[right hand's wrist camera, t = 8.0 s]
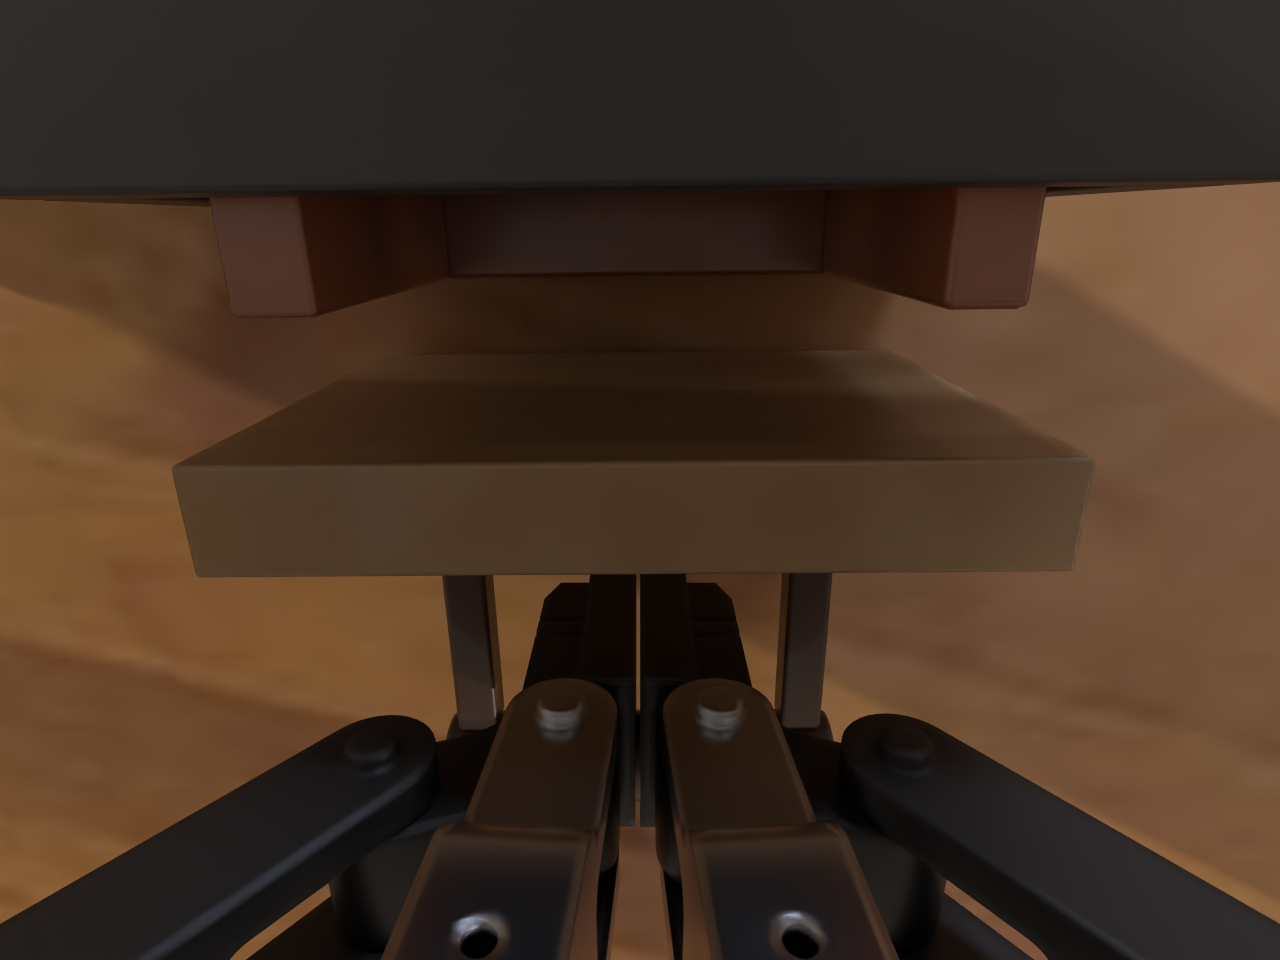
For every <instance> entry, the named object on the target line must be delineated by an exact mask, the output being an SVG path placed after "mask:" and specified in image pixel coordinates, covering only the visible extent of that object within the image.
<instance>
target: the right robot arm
mask: <svg viewBox="0 0 1280 960" xmlns="http://www.w3.org/2000/svg"><path fill="white" fill-rule="evenodd" d="M635 768H636V574H590V581H589V583H560V584H559V585H558V586H557V587H556V588H555V589H554V590H553V591H552V592H551V593H550V594H549V595H548V596H547V597H546V598H545V599H544V604H543V608H542V612H541V616H540V621H539V624H538V628H537V635H536V636H535V641H534V645H533V649H532V653H531V657H530V661H529V665H528V669H527V674H526V678H525V682H524V686H523V690H522V691H521V692H520V693H518V694H517V695H516V696H515V697H514V698H513V699H512V700H511V701H510V703H509V704H508V706H507V708H506V710H505V713H504V716H503V718H502V720H500V721H499V722H497V723H496V724H494V725H492V726H490V727H488V728H486V729H484V730H481V731H478V732H476V733H472V734H469V735H465V736H461V737H456V738H452V739H448V740H443V741H439V742H436V741H435V737H434V734H433V732H432V731H431V729H430V728H429V727H428V726H427V725H425V724H424V723H423V722H421V721H419V720H417V719H414V718H411V717H406V716H400V715H386V716H377V717H371V718H367V719H364V720H360V721H357V722H355V723H352V724H350V725H348V726H346V727H344V728H342V729H340V730H338V731H336V732H334V733H333V734H331V735H329V736H327V737H326V738H324V739H322V740H320V741H319V742H317V743H315V744H313V745H312V746H310V747H308V748H306V749H305V750H303V751H301V752H299V753H298V754H296V755H294V756H293V757H291V758H289V759H287V760H286V761H284V762H282V763H280V764H279V765H277V766H275V767H273V768H272V769H270V770H268V771H266V772H265V773H263V774H261V775H259V776H258V777H256V778H254V779H252V780H251V781H249V782H247V783H245V784H244V785H242V786H240V787H238V788H237V789H235V790H233V791H231V792H230V793H228V794H226V795H224V796H223V797H221V798H219V799H217V800H216V801H214V802H212V803H211V804H209V805H207V806H205V807H204V808H202V809H200V810H198V811H197V812H195V813H193V814H191V815H190V816H188V817H186V818H184V819H183V820H181V821H179V822H177V823H176V824H174V825H172V826H170V827H169V828H167V829H165V830H163V831H162V832H160V833H158V834H156V835H155V836H153V837H151V838H149V839H148V840H146V841H144V842H142V843H141V844H139V845H137V846H135V847H134V848H132V849H130V850H129V851H127V852H125V853H123V854H122V855H120V856H118V857H116V858H115V859H113V860H111V861H109V862H108V863H106V864H104V865H102V866H101V867H99V868H97V869H95V870H94V871H92V872H90V873H88V874H87V875H85V876H83V877H81V878H80V879H78V880H76V881H74V882H73V883H71V884H69V885H67V886H66V887H64V888H62V889H60V890H59V891H57V892H55V893H53V894H52V895H50V896H48V897H47V898H45V899H43V900H41V901H40V902H38V903H36V904H34V905H33V906H31V907H29V908H27V909H26V910H24V911H22V912H20V913H19V914H17V915H15V916H13V917H12V918H10V919H8V920H6V921H5V922H3V923H1V924H0V960H230V959H231V957H232V956H233V955H234V954H235V953H236V952H237V951H238V950H239V949H240V948H241V947H242V946H243V945H244V944H246V943H247V942H248V941H250V940H251V939H252V938H254V937H255V936H256V935H258V934H259V933H260V932H262V931H263V930H265V929H266V928H267V927H269V926H270V925H271V924H273V923H274V922H275V921H277V920H278V919H280V918H281V917H282V916H284V915H285V914H286V913H288V912H289V911H291V910H292V909H293V908H295V907H296V906H297V905H299V904H300V903H301V902H303V901H304V900H306V899H307V898H308V897H310V896H311V895H312V894H314V893H315V892H316V891H318V890H319V889H321V888H322V887H323V886H325V885H326V884H327V883H329V888H330V893H331V896H330V897H329V898H328V899H326V900H325V901H324V902H322V903H321V904H320V905H318V906H317V907H316V908H314V909H313V910H312V911H310V912H309V913H308V914H306V915H305V916H304V917H302V918H301V919H300V920H298V921H297V922H296V923H294V924H293V925H292V926H290V927H289V928H288V929H286V930H285V931H284V932H282V933H281V934H280V935H278V936H277V937H276V938H274V939H273V940H272V941H270V942H269V943H268V944H266V945H265V946H264V947H262V948H261V949H260V950H258V951H257V952H256V953H254V954H253V955H252V956H250V957H249V958H248V959H246V960H610V957H611V949H612V940H613V931H614V923H615V914H616V906H617V897H618V889H619V833H620V826H635ZM640 827H655V832H656V852H657V857H658V860H659V863H660V864H661V888H662V897H663V905H664V914H665V922H666V931H667V939H668V948H669V957H670V960H1034V959H1032V958H1031V957H1030V956H1028V955H1027V954H1026V953H1024V952H1023V951H1022V950H1020V949H1019V948H1018V947H1016V946H1015V945H1014V944H1012V943H1011V942H1010V941H1008V940H1007V939H1006V938H1004V937H1003V936H1002V935H1000V934H999V933H998V932H996V931H995V930H994V929H992V928H991V927H990V926H988V925H987V924H986V923H984V922H983V921H982V920H980V919H979V918H978V917H976V916H975V915H974V914H972V913H971V912H970V911H968V910H967V909H966V908H964V907H963V906H962V905H960V904H959V903H958V902H956V901H955V900H954V899H952V898H951V897H950V896H948V895H947V894H946V893H944V890H945V885H946V880H948V881H950V882H951V883H953V884H954V885H955V886H957V887H958V888H959V889H961V890H962V891H964V892H965V893H966V894H968V895H969V896H970V897H972V898H973V899H974V900H976V901H977V902H979V903H980V904H981V905H983V906H984V907H985V908H987V909H988V910H989V911H991V912H992V913H994V914H995V915H996V916H998V917H999V918H1000V919H1002V920H1003V921H1004V922H1006V923H1007V924H1009V925H1010V926H1011V927H1013V928H1014V929H1015V930H1017V931H1018V932H1020V933H1021V934H1022V935H1024V936H1025V937H1026V938H1028V939H1029V940H1030V941H1031V942H1033V943H1034V944H1035V945H1036V946H1037V947H1038V948H1039V949H1040V950H1041V951H1042V952H1043V953H1044V955H1045V956H1046V957H1047V958H1048V960H1280V924H1279V923H1277V922H1275V921H1274V920H1272V919H1270V918H1268V917H1267V916H1265V915H1263V914H1261V913H1260V912H1258V911H1256V910H1254V909H1253V908H1251V907H1249V906H1247V905H1246V904H1244V903H1242V902H1240V901H1239V900H1237V899H1235V898H1233V897H1232V896H1230V895H1228V894H1226V893H1225V892H1223V891H1221V890H1220V889H1218V888H1216V887H1214V886H1213V885H1211V884H1209V883H1207V882H1206V881H1204V880H1202V879H1200V878H1199V877H1197V876H1195V875H1193V874H1192V873H1190V872H1188V871H1186V870H1185V869H1183V868H1181V867H1179V866H1178V865H1176V864H1174V863H1172V862H1171V861H1169V860H1167V859H1165V858H1164V857H1162V856H1160V855H1158V854H1157V853H1155V852H1153V851H1151V850H1150V849H1148V848H1146V847H1144V846H1143V845H1141V844H1139V843H1138V842H1136V841H1134V840H1132V839H1131V838H1129V837H1127V836H1125V835H1124V834H1122V833H1120V832H1118V831H1117V830H1115V829H1113V828H1111V827H1110V826H1108V825H1106V824H1104V823H1103V822H1101V821H1099V820H1097V819H1096V818H1094V817H1092V816H1090V815H1089V814H1087V813H1085V812H1083V811H1082V810H1080V809H1078V808H1076V807H1075V806H1073V805H1071V804H1069V803H1068V802H1066V801H1064V800H1062V799H1061V798H1059V797H1057V796H1056V795H1054V794H1052V793H1050V792H1049V791H1047V790H1045V789H1043V788H1042V787H1040V786H1038V785H1036V784H1035V783H1033V782H1031V781H1029V780H1028V779H1026V778H1024V777H1022V776H1021V775H1019V774H1017V773H1015V772H1014V771H1012V770H1010V769H1008V768H1007V767H1005V766H1003V765H1001V764H1000V763H998V762H996V761H994V760H993V759H991V758H989V757H987V756H986V755H984V754H982V753H980V752H979V751H977V750H975V749H974V748H972V747H970V746H968V745H967V744H965V743H963V742H961V741H960V740H958V739H956V738H954V737H953V736H951V735H949V734H947V733H946V732H944V731H942V730H940V729H939V728H937V727H935V726H933V725H931V724H929V723H927V722H924V721H921V720H919V719H916V718H912V717H909V716H904V715H898V714H874V715H868V716H865V717H862V718H859V719H857V720H855V721H854V722H852V723H851V724H850V725H849V726H848V727H847V728H846V730H845V731H844V733H843V736H842V741H841V743H839V742H835V741H830V740H826V739H821V738H817V737H813V736H809V735H805V734H801V733H798V732H796V731H793V730H791V729H788V728H786V727H784V726H782V725H781V724H780V723H779V721H778V718H777V715H776V713H775V710H774V708H773V706H772V704H771V703H770V701H769V700H768V699H767V698H766V697H765V696H764V695H763V694H762V693H761V692H759V691H757V690H756V689H754V688H753V687H752V685H751V680H750V676H749V672H748V668H747V663H746V659H745V655H744V650H743V646H742V642H741V637H740V636H739V629H738V625H737V621H736V616H735V612H734V607H733V603H732V599H731V598H730V597H729V596H728V595H727V594H726V593H725V592H724V591H723V590H722V589H721V588H720V587H719V586H718V585H717V584H716V583H687V581H686V574H640Z"/></svg>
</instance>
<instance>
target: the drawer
mask: <svg viewBox="0 0 1280 960" xmlns="http://www.w3.org/2000/svg"><path fill="white" fill-rule="evenodd" d="M1046 188H1047V187H1009V188H930V189H852V190H773V191H695V192H616V193H537V194H459V195H380V196H302V197H223V198H209V199H210V204H211V209H212V214H213V220H214V225H215V230H216V235H217V241H218V246H219V251H220V256H221V261H222V267H223V272H224V277H225V282H226V287H227V293H228V298H229V303H230V308H231V313H232V315H233V316H235V317H238V318H273V317H315V316H319V315H322V314H326V313H329V312H333V311H336V310H340V309H343V308H347V307H350V306H354V305H357V304H361V303H364V302H368V301H371V300H375V299H378V298H382V297H385V296H389V295H392V294H396V293H400V292H403V291H407V290H410V289H414V288H417V287H421V286H424V285H428V284H431V283H435V282H438V281H442V280H445V279H451V278H538V277H624V276H711V275H798V274H827V275H830V276H834V277H837V278H841V279H844V280H848V281H851V282H855V283H858V284H862V285H865V286H868V287H872V288H875V289H879V290H882V291H886V292H889V293H893V294H896V295H900V296H903V297H907V298H910V299H914V300H917V301H921V302H924V303H928V304H931V305H935V306H938V307H942V308H945V309H949V310H958V309H1017V308H1020V307H1022V306H1025V305H1026V304H1027V302H1028V300H1029V294H1030V288H1031V282H1032V276H1033V269H1034V263H1035V257H1036V250H1037V244H1038V238H1039V232H1040V225H1041V219H1042V213H1043V207H1044V200H1045V194H1046ZM1094 465H1095V461H1094V458H1093V457H1091V456H1089V455H1087V454H1085V453H1084V452H1082V451H1080V450H1078V449H1076V448H1074V447H1072V446H1070V445H1068V444H1066V443H1065V442H1063V441H1061V440H1059V439H1057V438H1055V437H1053V436H1051V435H1049V434H1047V433H1045V432H1044V431H1042V430H1040V429H1038V428H1036V427H1034V426H1032V425H1030V424H1028V423H1026V422H1025V421H1023V420H1021V419H1019V418H1017V417H1015V416H1013V415H1011V414H1009V413H1007V412H1005V411H1004V410H1002V409H1000V408H998V407H996V406H994V405H992V404H990V403H988V402H986V401H985V400H983V399H981V398H979V397H977V396H975V395H973V394H971V393H969V392H967V391H965V390H964V389H962V388H960V387H958V386H956V385H954V384H952V383H950V382H948V381H946V380H945V379H943V378H941V377H939V376H937V375H935V374H933V373H931V372H929V371H927V370H925V369H924V368H922V367H920V366H918V365H916V364H914V363H912V362H910V361H908V360H906V359H905V358H903V357H901V356H899V355H897V354H895V353H893V352H891V351H889V350H816V351H721V352H625V353H529V354H434V355H388V356H385V357H384V358H382V359H380V360H378V361H376V362H374V363H372V364H370V365H368V366H366V367H364V368H362V369H360V370H358V371H356V372H354V373H352V374H351V375H349V376H347V377H345V378H343V379H341V380H339V381H337V382H335V383H333V384H331V385H329V386H327V387H325V388H323V389H321V390H320V391H318V392H316V393H314V394H312V395H310V396H308V397H306V398H304V399H302V400H300V401H298V402H296V403H294V404H292V405H290V406H288V407H287V408H285V409H283V410H281V411H279V412H277V413H275V414H273V415H271V416H269V417H267V418H265V419H263V420H261V421H259V422H257V423H256V424H254V425H252V426H250V427H248V428H246V429H244V430H242V431H240V432H238V433H236V434H234V435H232V436H230V437H228V438H226V439H224V440H223V441H221V442H219V443H217V444H215V445H213V446H211V447H209V448H207V449H205V450H203V451H201V452H199V453H197V454H195V455H193V456H191V457H190V458H188V459H186V460H184V461H182V462H180V463H178V464H176V465H174V466H173V467H172V474H173V478H174V482H175V487H176V491H177V495H178V499H179V504H180V508H181V512H182V516H183V521H184V525H185V529H186V533H187V538H188V542H189V546H190V551H191V555H192V559H193V563H194V568H195V572H196V574H197V576H199V577H305V576H442V578H443V587H444V596H445V605H446V614H447V623H448V632H449V641H450V650H451V659H452V668H453V677H454V686H455V695H456V704H457V713H456V714H455V715H454V717H453V719H452V721H451V724H450V726H449V730H448V734H447V738H446V740H448V739H452V738H456V737H461V736H465V735H469V734H472V733H476V732H478V731H481V730H484V729H486V728H488V727H490V726H492V725H494V724H496V723H497V722H499V721H500V720H502V718H503V716H504V713H505V710H503V709H504V697H503V686H502V674H501V663H500V651H499V640H498V628H497V616H496V605H495V593H494V582H493V575H579V574H716V573H782V585H781V602H780V619H779V637H778V654H777V671H776V688H775V708H776V709H774V710H775V713H776V715H777V718H778V721H779V723H780V724H781V725H782V726H784V727H786V728H788V729H791V730H793V731H796V732H798V733H801V734H805V735H809V736H813V737H817V738H821V739H826V740H830V741H833V735H832V731H831V727H830V724H829V721H828V719H827V716H826V714H825V713H824V711H822V710H821V703H822V691H823V679H824V667H825V655H826V643H827V631H828V619H829V607H830V595H831V583H832V573H852V572H989V571H1070V570H1072V569H1073V567H1074V564H1075V559H1076V554H1077V549H1078V544H1079V539H1080V534H1081V529H1082V524H1083V519H1084V514H1085V509H1086V504H1087V500H1088V495H1089V490H1090V485H1091V480H1092V475H1093V470H1094ZM635 802H640V710H636V768H635Z"/></svg>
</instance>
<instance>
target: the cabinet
mask: <svg viewBox="0 0 1280 960" xmlns="http://www.w3.org/2000/svg"><path fill="white" fill-rule="evenodd" d="M1266 182H1280V0H0V199H15V200H46V201H73V202H100V203H128V204H155V205H182V206H210V207H211V204H210V199H209V198H223V197H302V196H380V195H459V194H537V193H616V192H695V191H773V190H852V189H930V188H1009V187H1047V188H1046V194H1045V197H1050V196H1065V195H1081V194H1096V193H1112V192H1128V191H1143V190H1159V189H1174V188H1190V187H1205V186H1221V185H1235V184H1251V183H1266Z"/></svg>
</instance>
